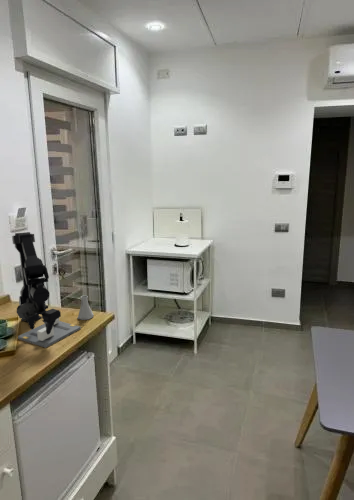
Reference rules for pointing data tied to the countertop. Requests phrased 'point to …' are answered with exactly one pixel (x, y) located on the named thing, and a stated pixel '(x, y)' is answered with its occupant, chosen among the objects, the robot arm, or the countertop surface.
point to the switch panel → (59, 333)
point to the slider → (44, 334)
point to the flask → (85, 309)
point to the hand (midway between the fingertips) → (40, 331)
